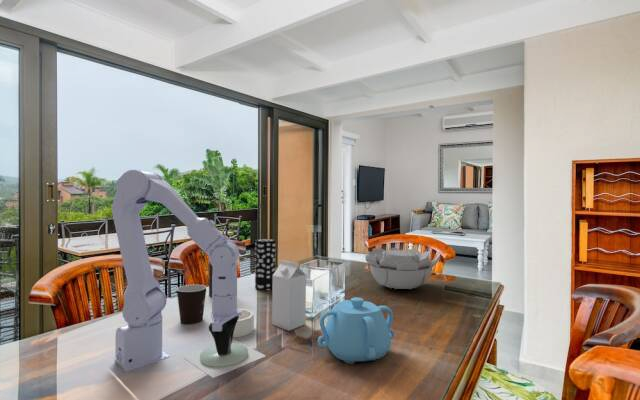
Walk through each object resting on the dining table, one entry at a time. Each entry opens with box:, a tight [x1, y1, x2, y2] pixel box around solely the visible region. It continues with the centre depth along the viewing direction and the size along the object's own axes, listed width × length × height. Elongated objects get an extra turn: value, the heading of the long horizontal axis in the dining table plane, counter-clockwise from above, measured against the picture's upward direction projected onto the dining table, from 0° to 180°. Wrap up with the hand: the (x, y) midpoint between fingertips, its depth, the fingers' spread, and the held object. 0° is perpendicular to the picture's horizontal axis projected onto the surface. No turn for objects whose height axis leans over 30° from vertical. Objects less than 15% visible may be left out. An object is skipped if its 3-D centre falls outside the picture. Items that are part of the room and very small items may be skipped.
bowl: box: [233, 308, 255, 338], centre depth 100 cm, size 10×10×5 cm
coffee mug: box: [176, 284, 207, 325], centre depth 110 cm, size 12×9×10 cm
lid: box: [200, 336, 248, 368], centre depth 83 cm, size 11×11×4 cm
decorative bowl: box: [365, 247, 441, 290], centre depth 149 cm, size 30×30×15 cm
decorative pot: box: [317, 297, 395, 364], centre depth 86 cm, size 16×16×14 cm
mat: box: [182, 338, 267, 379], centre depth 83 cm, size 14×14×1 cm
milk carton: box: [271, 259, 307, 332], centre depth 105 cm, size 7×7×19 cm
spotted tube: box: [254, 238, 277, 292], centre depth 146 cm, size 8×8×20 cm
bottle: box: [208, 260, 213, 298], centre depth 136 cm, size 7×7×20 cm
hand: (224, 350), depth 83 cm, fingers closed on lid, 3 cm apart
